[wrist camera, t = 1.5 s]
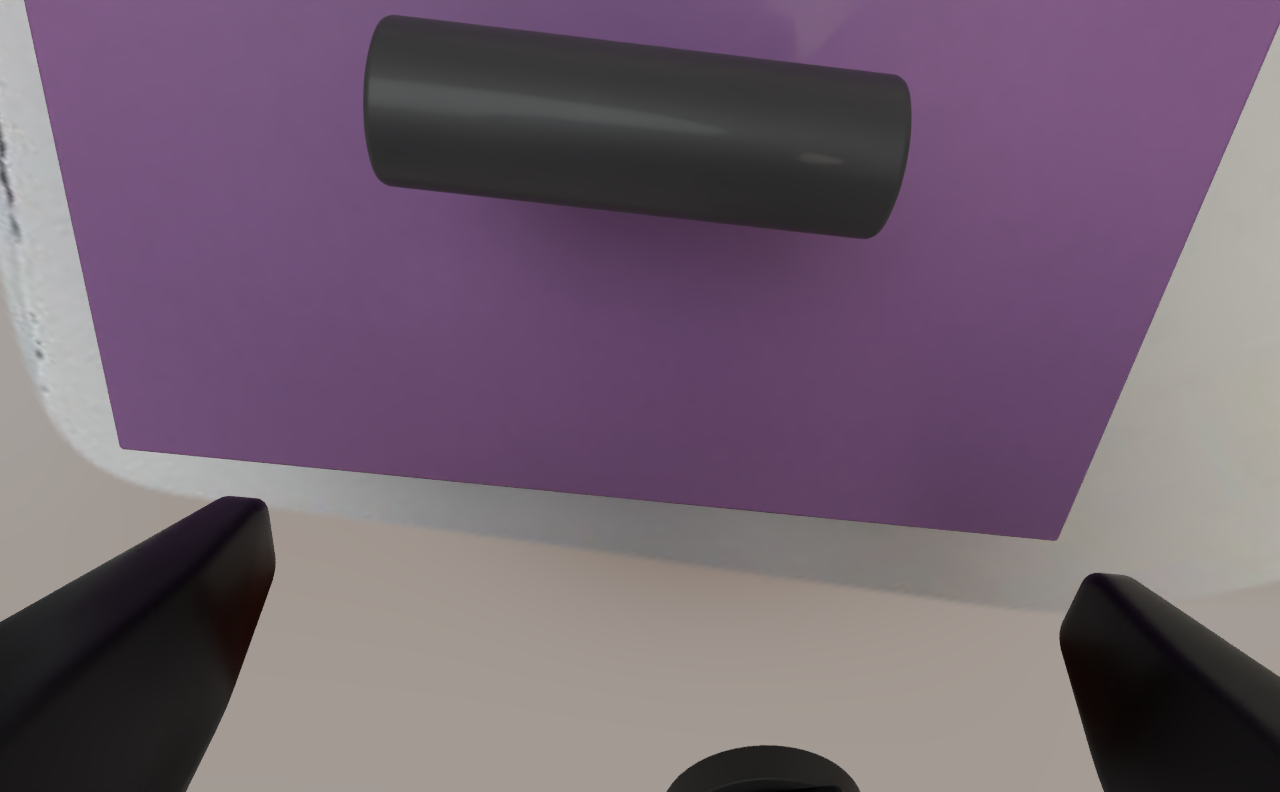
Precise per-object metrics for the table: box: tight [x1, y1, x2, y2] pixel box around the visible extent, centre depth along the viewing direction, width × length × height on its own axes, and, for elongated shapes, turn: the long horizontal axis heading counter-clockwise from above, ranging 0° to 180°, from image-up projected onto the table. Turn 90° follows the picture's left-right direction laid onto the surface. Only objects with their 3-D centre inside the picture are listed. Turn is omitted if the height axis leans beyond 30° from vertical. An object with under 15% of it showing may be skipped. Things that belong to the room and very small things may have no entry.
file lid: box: [24, 0, 1280, 541], centre depth 10 cm, size 14×17×5 cm
